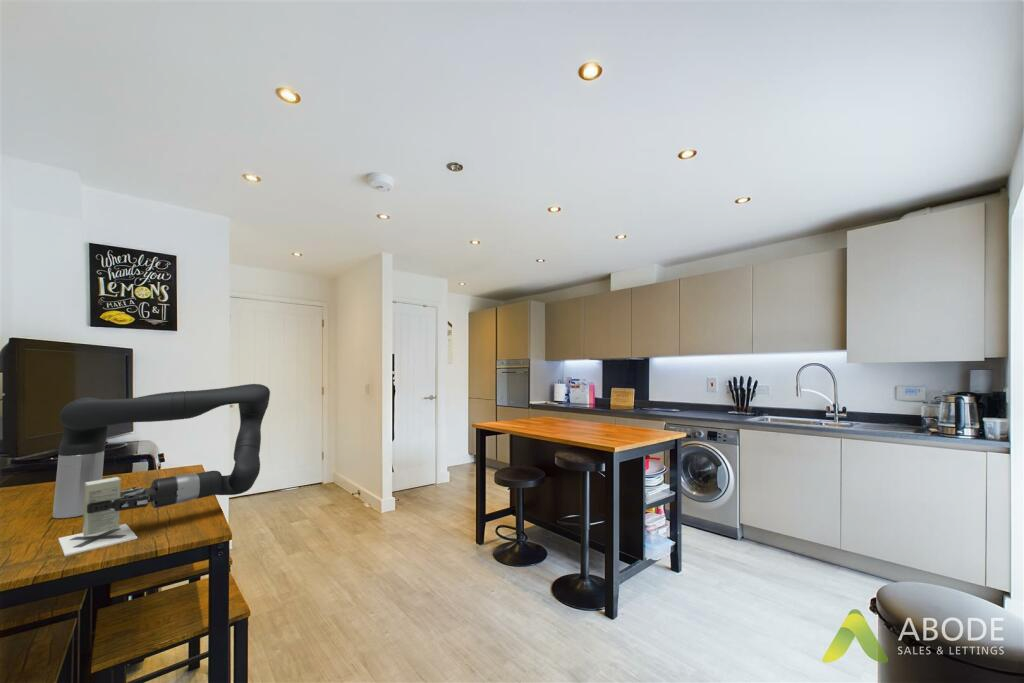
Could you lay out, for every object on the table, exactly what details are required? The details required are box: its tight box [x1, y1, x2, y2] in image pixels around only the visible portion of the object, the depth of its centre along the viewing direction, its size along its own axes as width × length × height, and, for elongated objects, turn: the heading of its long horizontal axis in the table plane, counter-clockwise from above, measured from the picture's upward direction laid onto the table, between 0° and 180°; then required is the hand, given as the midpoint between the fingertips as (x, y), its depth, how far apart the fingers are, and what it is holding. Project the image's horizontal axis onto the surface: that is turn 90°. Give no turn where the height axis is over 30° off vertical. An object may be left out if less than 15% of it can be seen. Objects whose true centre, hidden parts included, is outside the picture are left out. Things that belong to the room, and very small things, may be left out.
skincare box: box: [82, 476, 122, 536], centre depth 99 cm, size 6×4×12 cm
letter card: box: [58, 523, 138, 557], centre depth 98 cm, size 14×12×1 cm
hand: (86, 506), depth 96 cm, fingers closed on skincare box, 4 cm apart
